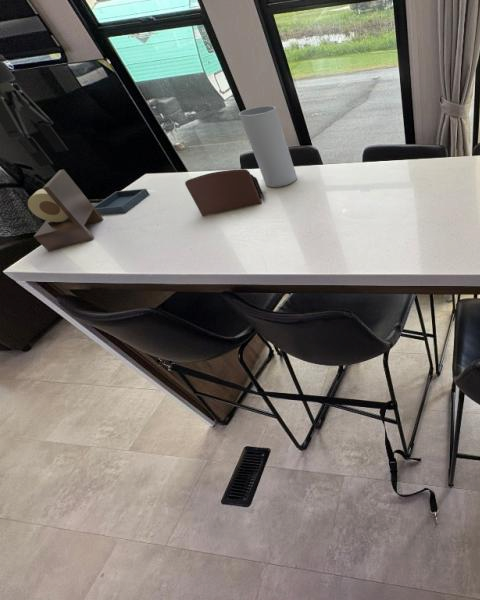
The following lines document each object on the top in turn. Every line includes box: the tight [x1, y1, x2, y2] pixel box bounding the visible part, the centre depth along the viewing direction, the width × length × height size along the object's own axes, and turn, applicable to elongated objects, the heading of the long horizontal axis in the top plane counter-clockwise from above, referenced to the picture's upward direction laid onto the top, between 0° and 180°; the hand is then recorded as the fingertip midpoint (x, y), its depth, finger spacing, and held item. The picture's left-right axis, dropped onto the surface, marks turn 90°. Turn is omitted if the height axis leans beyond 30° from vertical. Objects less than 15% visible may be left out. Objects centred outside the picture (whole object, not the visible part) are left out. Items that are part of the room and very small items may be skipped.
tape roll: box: [27, 188, 69, 222], centre depth 98 cm, size 9×5×9 cm, turn 116°
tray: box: [93, 188, 150, 216], centre depth 124 cm, size 16×13×2 cm
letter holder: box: [184, 169, 265, 217], centre depth 108 cm, size 10×20×14 cm, turn 107°
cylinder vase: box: [238, 105, 298, 188], centre depth 119 cm, size 12×12×25 cm
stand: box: [33, 169, 105, 252], centre depth 100 cm, size 12×16×19 cm
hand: (55, 157), depth 88 cm, fingers open, 13 cm apart
